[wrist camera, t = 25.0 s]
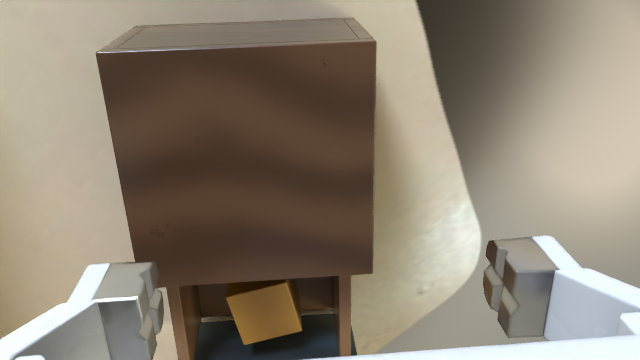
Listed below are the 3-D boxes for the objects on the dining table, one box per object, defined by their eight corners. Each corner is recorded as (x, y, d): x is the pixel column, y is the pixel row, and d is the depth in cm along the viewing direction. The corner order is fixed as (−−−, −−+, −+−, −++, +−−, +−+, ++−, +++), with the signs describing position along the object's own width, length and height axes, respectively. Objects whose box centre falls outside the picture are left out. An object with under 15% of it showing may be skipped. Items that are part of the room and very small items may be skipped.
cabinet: (354, 209, 44) (373, 274, 35) (166, 220, 43) (139, 289, 34) (354, 17, 38) (376, 40, 29) (135, 25, 37) (95, 52, 28)
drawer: (349, 378, 49) (360, 447, 43) (197, 389, 49) (184, 461, 42) (347, 177, 41) (362, 224, 35) (166, 187, 41) (145, 236, 34)
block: (246, 308, 44) (243, 345, 40) (229, 263, 42) (225, 297, 38) (299, 295, 44) (302, 331, 40) (285, 249, 42) (286, 282, 38)
